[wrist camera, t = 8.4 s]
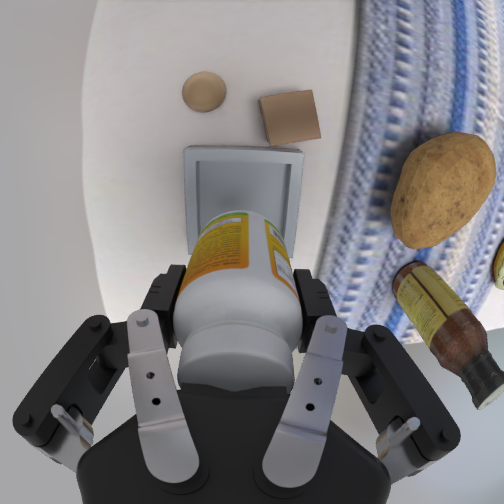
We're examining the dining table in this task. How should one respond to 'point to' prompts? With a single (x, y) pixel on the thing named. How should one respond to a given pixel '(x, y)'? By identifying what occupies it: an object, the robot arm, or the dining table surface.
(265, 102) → the walnut block
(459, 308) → the sauce bottle
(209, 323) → the supplement bottle
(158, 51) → the dining table surface
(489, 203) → the dining table surface
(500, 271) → the decorated donut
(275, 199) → the tray
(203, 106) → the cork ball
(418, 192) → the potato
